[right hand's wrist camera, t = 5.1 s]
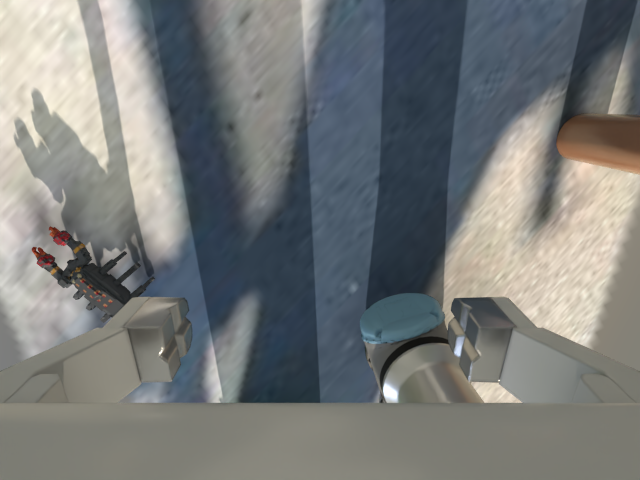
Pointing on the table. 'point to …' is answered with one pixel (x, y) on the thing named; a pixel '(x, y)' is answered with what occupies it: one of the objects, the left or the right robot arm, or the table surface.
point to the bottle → (602, 140)
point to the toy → (90, 276)
